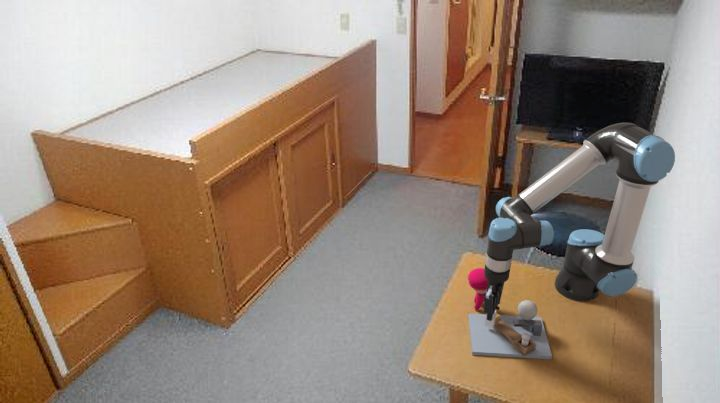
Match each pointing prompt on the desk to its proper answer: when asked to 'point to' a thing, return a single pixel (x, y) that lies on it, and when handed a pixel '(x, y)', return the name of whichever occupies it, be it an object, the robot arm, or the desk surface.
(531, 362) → the desk surface
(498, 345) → the board
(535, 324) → the keeper
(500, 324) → the link
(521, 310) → the lightbulb
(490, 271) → the robot arm
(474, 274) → the toy
